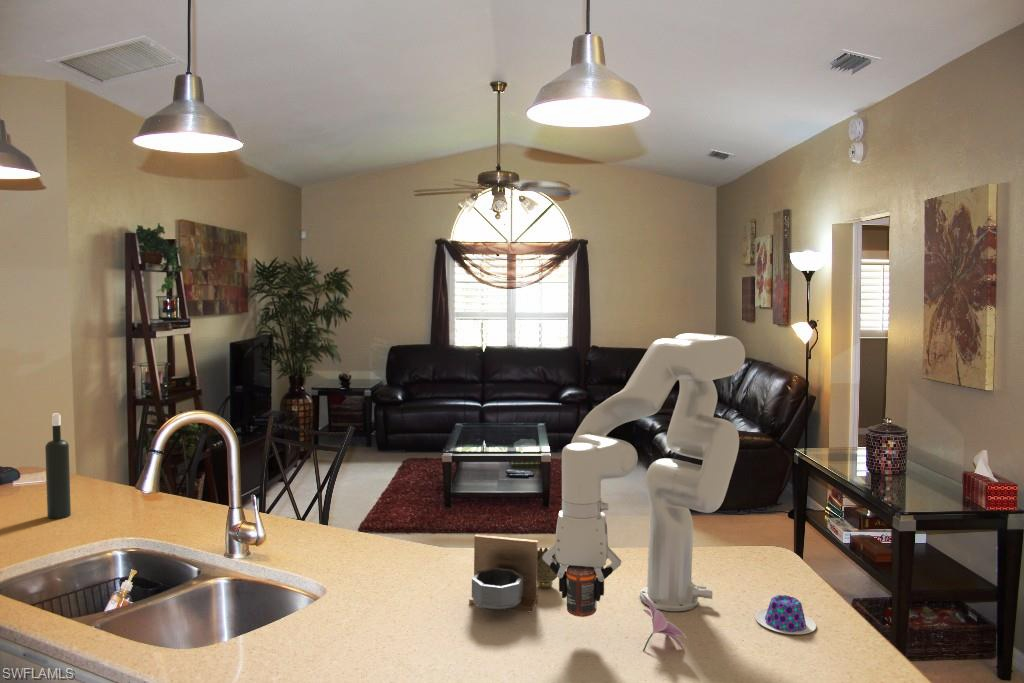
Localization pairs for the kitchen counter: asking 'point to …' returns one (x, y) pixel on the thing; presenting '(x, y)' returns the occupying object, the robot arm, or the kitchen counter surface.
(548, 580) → the cup
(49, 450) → the wine bottle
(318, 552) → the kitchen counter surface
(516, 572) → the cup bracket
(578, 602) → the supplement bottle
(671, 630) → the lily
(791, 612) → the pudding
